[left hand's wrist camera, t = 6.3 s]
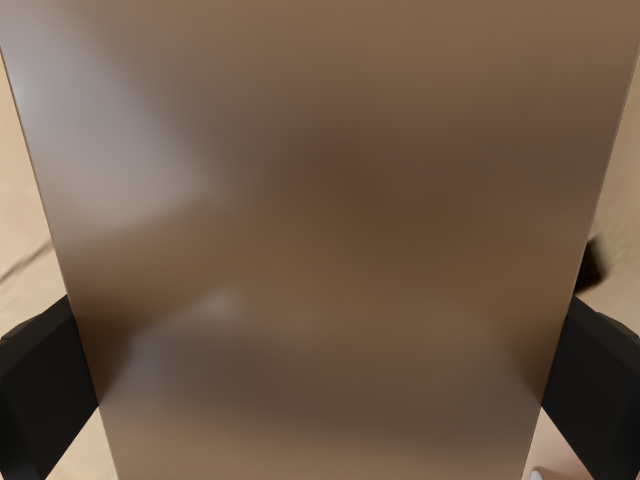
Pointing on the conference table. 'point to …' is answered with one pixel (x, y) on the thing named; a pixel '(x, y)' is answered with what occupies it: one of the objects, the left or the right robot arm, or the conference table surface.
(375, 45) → the cabinet
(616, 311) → the conference table surface
